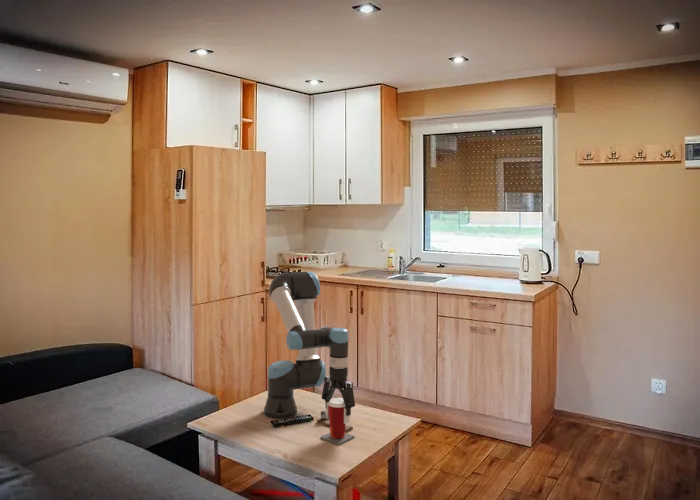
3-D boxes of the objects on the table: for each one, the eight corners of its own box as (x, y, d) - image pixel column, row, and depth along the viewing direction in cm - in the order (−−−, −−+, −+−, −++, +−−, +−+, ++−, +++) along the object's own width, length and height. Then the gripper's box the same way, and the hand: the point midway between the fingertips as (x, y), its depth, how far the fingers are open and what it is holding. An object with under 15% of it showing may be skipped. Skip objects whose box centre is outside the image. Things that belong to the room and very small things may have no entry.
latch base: (316, 422, 255) (316, 419, 255) (323, 419, 258) (323, 416, 258) (346, 432, 244) (346, 429, 244) (352, 429, 248) (352, 426, 248)
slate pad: (320, 438, 238) (320, 436, 238) (336, 431, 245) (336, 429, 245) (338, 445, 231) (339, 443, 231) (354, 437, 239) (354, 435, 239)
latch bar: (324, 420, 253) (324, 413, 253) (319, 418, 255) (319, 412, 255) (344, 410, 266) (344, 403, 265) (339, 409, 267) (339, 402, 267)
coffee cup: (351, 435, 238) (352, 400, 237) (337, 441, 232) (338, 405, 231) (337, 430, 244) (337, 395, 243) (323, 435, 238) (323, 400, 237)
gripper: (313, 363, 240) (312, 415, 242) (353, 373, 226) (352, 429, 228) (325, 359, 245) (324, 410, 247) (365, 369, 232) (363, 423, 234)
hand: (337, 419), depth 238 cm, fingers open, 9 cm apart
